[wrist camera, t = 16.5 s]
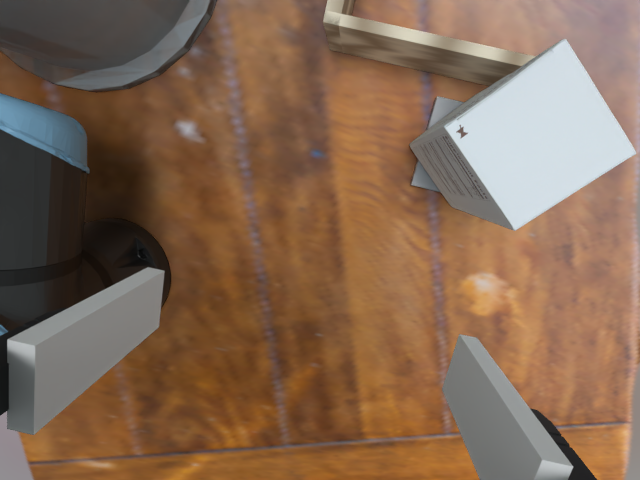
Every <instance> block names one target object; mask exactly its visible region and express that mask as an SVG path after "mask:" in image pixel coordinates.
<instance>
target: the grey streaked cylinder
mask: <svg viewBox="0 0 640 480" xmlns="http://www.w3.org/2000/svg"><path fill="white" fill-rule="evenodd" d="M216 2H217V0H0V50H1V51H2V52H3V53H4V54H5V55H6V56H8V57H9V58H10V59H11V60H12V61H13V62H15V63H16V64H17V65H18V66H19V67H21V68H23V69H25V70H27V71H29V72H31V73H33V74H35V75H37V76H39V77H41V78H43V79H45V80H47V81H49V82H51V83H53V84H57V85H60V86H65V87H70V88H75V89H81V90H86V91H91V92H103V91H112V90H121V89H130V88H132V87H134V86H136V85H139V84H141V83H143V82H145V81H148V80H150V79H152V78H154V77H157V76H159V75H161V74H162V73H163V72H165V71H166V70H167V69H168V68H169V67H170V66H172V65H173V64H174V63H175V62H176V61H177V60H178V59H180V58H181V57H182V56H183V55H184V54H185V53H187V52H188V51H189V50H190V48H191V47H192V45H193V44H194V42H195V41H196V39H197V38H198V36H199V35H200V33H201V32H202V30H203V29H204V27H205V26H206V24H207V23H208V21H209V20H210V18H211V16H212V13H213V10H214V8H215V5H216Z"/></svg>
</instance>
